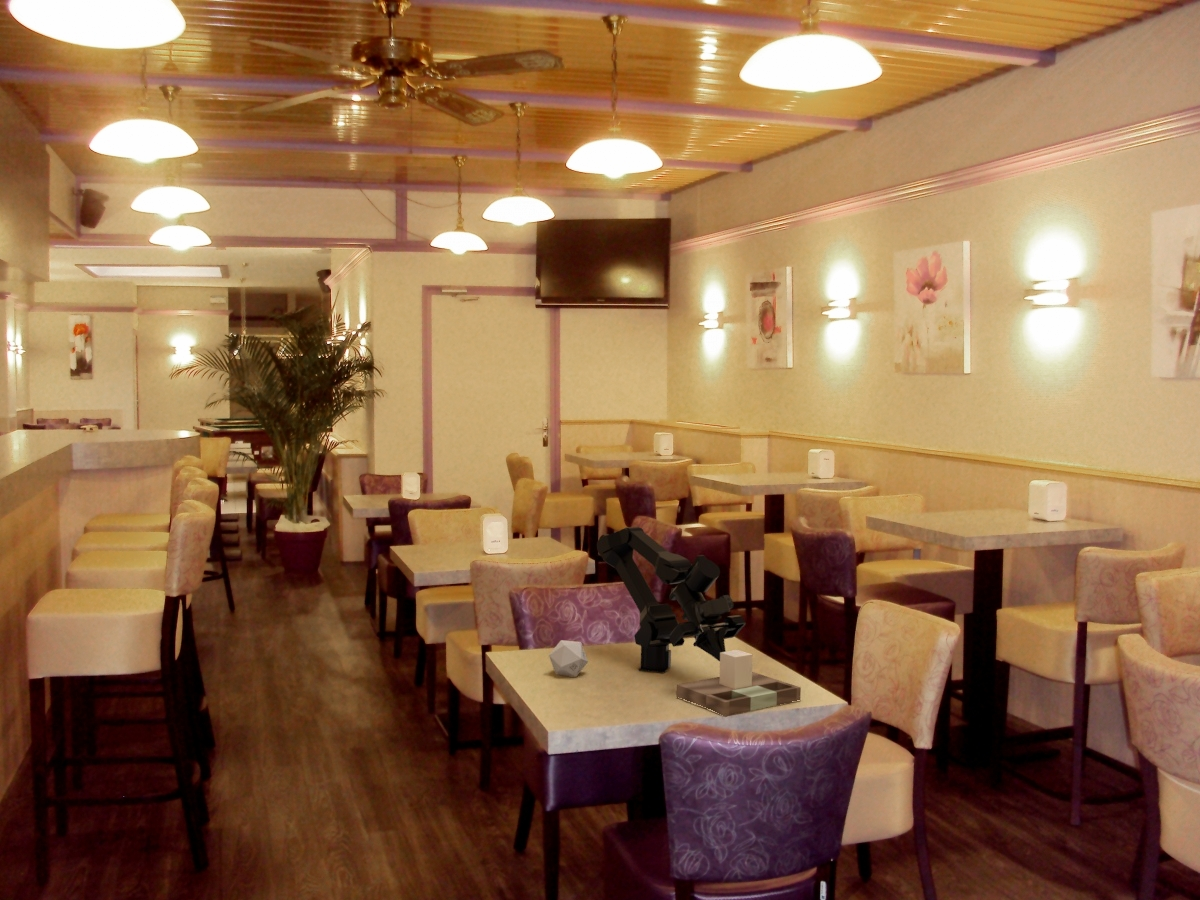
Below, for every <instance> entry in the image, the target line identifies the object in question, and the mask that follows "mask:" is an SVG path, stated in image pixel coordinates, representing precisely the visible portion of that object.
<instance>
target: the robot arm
mask: <svg viewBox="0 0 1200 900" xmlns="http://www.w3.org/2000/svg"><path fill="white" fill-rule="evenodd" d="M596 549H597V553H598V554H599V556H600V557H601V558H602V559H603V561H604V562H605V563H606V564H608V565H610V566H611V567H613V568H615V570H616V571H617V574H618V575H619V577H620V579H621V580H622V582H623V584H624V586H625V588H626V590H627V591H628V593H629V595H630V596H631V599H632V600H633V602H634V604H635V605H636V607H637V609H638V611H639V614H640V615H639V626H640V627H639V629H638V630H637V632H636V633H635V634H634V635H633V636H634V641H635V644H636V645H638V646H640V667H639V668H638V671H641V672H651V673H666V672H667V671H668V670H669V669H670V668H671V665H672V650H671V649H670V645H672V647H679V646H680V647H681V646H684V643H685V641H686V640H685V638H689V637H690V638H691V637H694V640H695V641H694V642H693V644H692V645H693V647H696V648H699V650H700V649H701V650H702V651H704V652H706V653H707V654H708V655H710V656H711V657H713V658H714V659H716V661H718V662H720V652H726V645H725V640H726V639H732V638H734V637H736V636H737V635H738V634H739V632H740V631H741V630H742V629H743V628H744V627H745V626H746V624H747V623H746V621H745V620H744V618H743V617H744V616H742V615H739V614H736V615H729V616H726V617H725V618H724V619H723V620H722V622H720V623H718V621H720V620H721V619H722V615H723V614H725V613H727V614H729V613H730V612H731V609H733V608H734V606H735V604H734V602H733V599H732V597H730V595H729V594H725V595H722V596H720V597H719V598H716V599H714V598H713V599H711V600H710V599H705V597H704V595H703V593H706V592H708V591H709V589H710V588H711V587H712V585H713V584H714V583H715V582H716V580H717V579H718V578H719V577H720V575H721V570H720V567H719V565H718V564H716V563H715V562H714V561H712V560H710V559H708V558H707V557H706V556H705V555H704V554H701V555H697V556H696V557H695V559H694V560H693V563H691V561H690V560H689V559H688V558H686V557H684V556H682V555H680V554H677V553H673V552H670V551H668V550H666V549H665V548H664V547H663V546H662V545H661V544H659V543H658V541H656V540H654V539H653V538H652V537H651V536H649V535H648V534H647V533H646V532H644V529H643V528H642V527H640V526H633V527H632V526H629V527H628V526H627V527H624V528H622V529H620V530H618V531H615V532H612V533H609V534H608V533H607V534H602V535H601V536H599V538H598V540H597V541H596ZM634 551H636V553H638V554H639V555H640V556H641V557H642V558H643V559H645V560H646V561H647V562H648V563H649V564H650V565H652V566H653V567H654V574H655V575H656V576H657V577H658V579H659V580H660V581H661V582H662V583H663V584H664V585H674V584H675V585H676V584H677V585H676V586H675V587H673V588H671V590H670V591H671V592H670V594H669V598H668V599H669V601H677V602H678V605H679V606H680V608H681V610H682V612H683V614H682V616H681V618H682V620H683V621H684V622H678V619H677V614H675V613H674V611H673V609H672V607H671V605H670V604H669V603H664V604H663V603H662V604H661V603H659V602H658V600H657V599H656V596H655V594H654V593H653V592H652V589H651V588H650V586H649V585H648V583H647V581H646V579H645V577H644V576H643V573H642V571H640V569H639V567H638V565H637V563H636V562H635V560H634Z"/></svg>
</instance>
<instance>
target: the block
mask: <svg viewBox="0 0 1200 900" xmlns="http://www.w3.org/2000/svg"><path fill="white" fill-rule="evenodd" d="M752 672H753V654H752V653H748V652H745V651H743V650H739V649H733V650H727V651H726V652H720V661H719V677H720V682H719V684H721V685H724V686H727V687H730V688H733V689H738V688H743V687H749V686H752Z"/></svg>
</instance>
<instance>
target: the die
mask: <svg viewBox="0 0 1200 900" xmlns="http://www.w3.org/2000/svg"><path fill="white" fill-rule="evenodd" d="M548 657H549V661H550V662H551V665H552V667H553V671H554V673H555V675H556V676H562V677H563V676H565V677H574V678H577V677H578V675H579V674H580V673H581V672H582V670H583V669H584V668H585V666H586V665H587V664H588V663H589V661H588V660H589V659H588V658H587V655H586V652H585V649H584V646H583V644H582V642H581V641H575V640H574V641H572V640H563V639H561V640H559V642H558V643H557V644H556V646H555V647H554V648H553V649H552V651H550V653H549V654H548Z"/></svg>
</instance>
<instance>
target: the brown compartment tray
mask: <svg viewBox="0 0 1200 900" xmlns="http://www.w3.org/2000/svg"><path fill="white" fill-rule="evenodd" d="M719 682H720V676H716V677H711V678H705V679H700V680H694V681H688V682H683V683H676V691H675V693H676V696H675V697H679V698H682V699H685V700H687V701H690V702H693V703H696V704H698V705H701V706H703V707H706V708H708V709H711V710H713V711H715V712H717V713H719V714H718V715H720V714H721V715H720V716H722V715H723V716H722V717H730V716H734V715H739V714H743V712H744V713H748V711H749V712H753V711H752V710H754V711H757V710H756V709H759V710H762V709H761V708H763V709H767V708H766V707H768V708H771V707H770V706H773V707H776V706H775V705H778V706H781V705H780V704H783V705H785V704H784V703H788V704H790V703H789V702H792V701H797V700H800V701H801V691H802V689H801V688H802V687H801V686H799V685H795V684H792V683H788V682H786V681H782V680H779V679H776V678H773V677H770V676H767V675H763V674H760V673H757V672H755V671H752V686H749V687H743V688H738V689H733V688H730V687H727V686H724V685H721V684H719ZM797 702H798V701H797ZM717 713H716V714H717Z"/></svg>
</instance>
